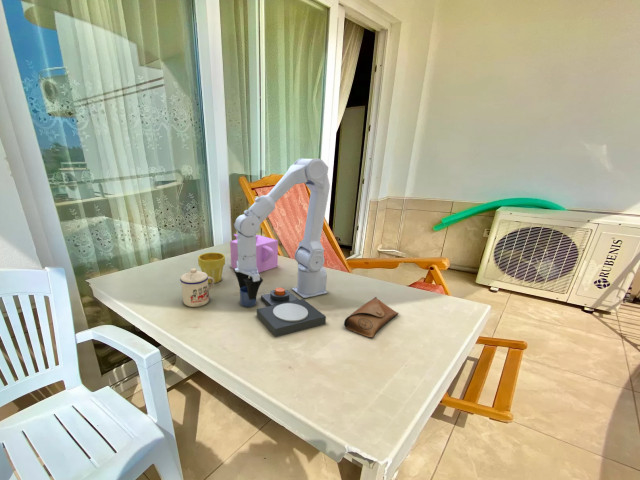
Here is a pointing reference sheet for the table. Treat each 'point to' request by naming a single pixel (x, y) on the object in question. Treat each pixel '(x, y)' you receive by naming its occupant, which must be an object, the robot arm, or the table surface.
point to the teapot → (259, 253)
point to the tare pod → (278, 298)
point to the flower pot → (212, 265)
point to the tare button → (279, 291)
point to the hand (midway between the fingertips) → (247, 293)
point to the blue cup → (246, 298)
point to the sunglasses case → (369, 318)
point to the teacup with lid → (195, 288)
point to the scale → (290, 317)
